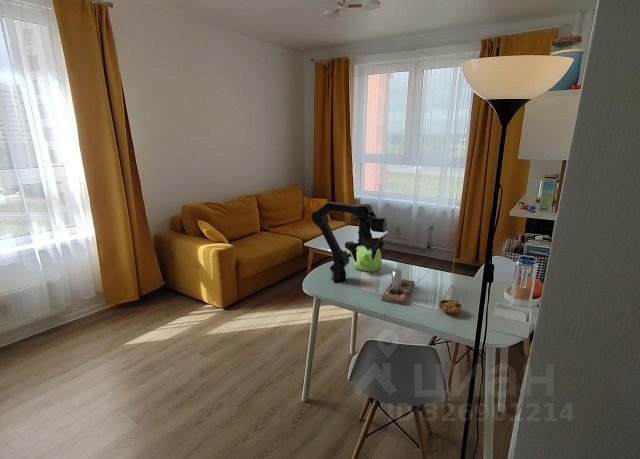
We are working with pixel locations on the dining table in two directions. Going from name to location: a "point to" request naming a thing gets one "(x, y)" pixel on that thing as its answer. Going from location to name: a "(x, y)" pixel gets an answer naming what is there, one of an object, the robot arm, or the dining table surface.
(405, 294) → the brown flat block
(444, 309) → the bird feeder
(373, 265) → the teapot
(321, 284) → the dining table surface
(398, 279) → the peg
